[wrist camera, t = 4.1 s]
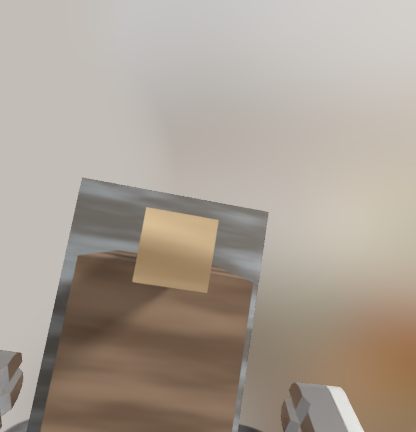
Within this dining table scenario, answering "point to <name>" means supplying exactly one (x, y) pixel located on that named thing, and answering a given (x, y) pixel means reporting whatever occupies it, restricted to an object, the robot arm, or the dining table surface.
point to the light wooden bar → (175, 250)
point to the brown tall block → (147, 323)
